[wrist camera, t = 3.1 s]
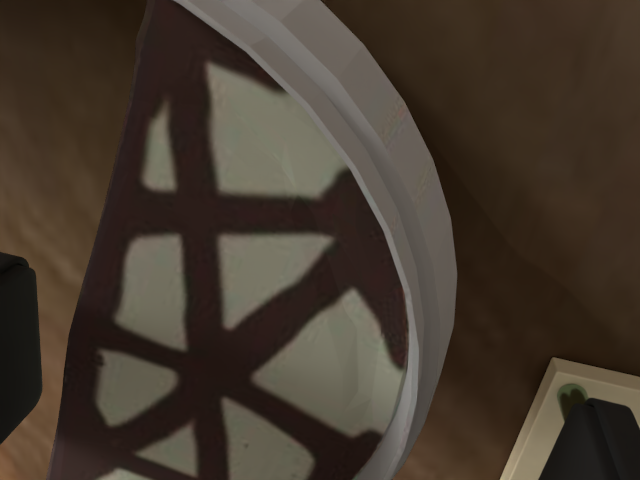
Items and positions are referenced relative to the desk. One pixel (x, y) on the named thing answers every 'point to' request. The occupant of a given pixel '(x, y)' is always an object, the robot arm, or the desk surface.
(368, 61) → the food container
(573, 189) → the desk surface
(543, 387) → the dish rack
